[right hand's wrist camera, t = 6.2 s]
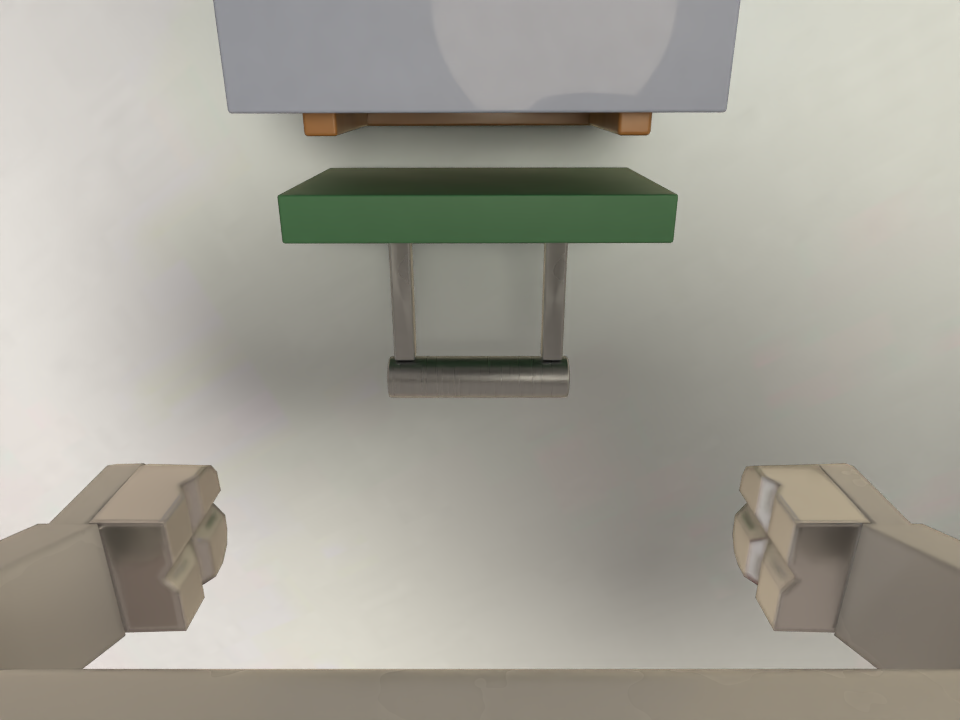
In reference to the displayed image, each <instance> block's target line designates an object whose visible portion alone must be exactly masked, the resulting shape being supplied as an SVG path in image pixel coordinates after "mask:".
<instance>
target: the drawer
mask: <svg viewBox="0 0 960 720" xmlns="http://www.w3.org/2000/svg"><path fill="white" fill-rule="evenodd" d="M651 120H652V112H607V113H303V123H304V133H305V135H306V136H336V135H340V134H343V133H346V132H349V131H352V130H355V129H358V128H361V127H364V126H549V125H592V126H595V127H598V128H600V129H603V130H606V131H609V132H612V133H615V134H618V135H648V134H649V133H650V131H651ZM677 201H678V195H677V194H675V193H673V192H671V191H669V190H668V189H666V188H664V187H662V186H660V185H658V184H657V183H655V182H653V181H651V180H649V179H647V178H645V177H644V176H642V175H640V174H638V173H636V172H634V171H633V170H631V169H629V168H330V169H328V170H326V171H324V172H322V173H320V174H318V175H316V176H314V177H313V178H311V179H309V180H307V181H305V182H303V183H301V184H299V185H297V186H295V187H293V188H292V189H290V190H288V191H286V192H284V193H282V194H280V195H278V205H279V214H280V223H281V232H282V241H283V243H389V262H390V281H391V299H392V318H393V336H394V355H395V356H391V357H390V358H389V362H388V372H387V383H388V393H389V396H390V397H391V398H565V397H567V396H568V393H569V382H570V372H569V361H568V358H567V357H566V356H562V354H563V332H564V311H565V290H566V269H567V248H568V243H671V242H673V238H674V229H675V219H676V210H677ZM412 243H544V265H543V294H542V323H541V356H416V353H417V351H416V326H415V301H414V276H413V252H412Z"/></svg>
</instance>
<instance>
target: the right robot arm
mask: <svg viewBox="0 0 960 720" xmlns="http://www.w3.org/2000/svg"><path fill="white" fill-rule="evenodd" d="M220 491H221V489H220V484H219V479H218V474H217V471H216V470H215V469H214V468H213V467H212V466H211V465H173V464H147V465H146V464H143V463H141V464H113V465H107V466H106V467H105V468H104V469H103V470H102V471H101V472H100V473H99V474H98V475H97V476H96V477H95V478H94V479H93V480H92V481H91V482H90V483H89V484H88V485H87V486H86V487H85V488H84V489H83V490H82V491H81V492H80V493H79V494H78V495H77V496H76V497H75V498H74V499H73V500H72V501H71V502H70V503H69V504H68V505H67V506H66V507H65V508H64V509H63V510H62V511H61V512H60V513H59V514H58V515H57V516H56V517H55V518H54V519H53V520H52V521H51V522H50V523H49V524H36V525H34V526H32V527H30V528H27V529H25V530H23V531H20V532H18V533H16V534H14V535H11V536H9V537H7V538H4V539H2V540H0V720H960V540H958V539H955V538H953V537H951V536H949V535H946V534H944V533H942V532H940V531H937V530H935V529H933V528H930V527H928V526H926V525H924V524H911V523H910V522H909V521H908V520H907V519H906V518H905V517H904V516H903V515H902V514H901V513H900V512H899V511H898V510H897V509H896V508H895V507H894V506H893V505H892V504H891V503H890V502H889V501H888V500H887V499H886V498H885V497H884V496H883V495H882V494H881V493H880V492H879V491H878V490H877V489H876V488H875V487H874V486H873V485H872V484H871V483H870V482H869V481H868V480H867V479H866V478H865V477H864V476H863V475H862V474H861V473H860V472H859V471H858V470H857V469H856V468H855V467H854V466H851V465H848V464H846V463H838V464H808V465H768V466H747V467H746V468H745V470H744V472H743V474H742V478H741V483H740V488H739V491H740V492H741V494H742V496H743V497H744V499H745V500H746V502H747V503H746V504H745V505H744V506H743V507H742V508H741V509H740V510H739V511H738V512H737V513H736V514H735V518H734V526H733V546H734V553H735V557H736V560H737V563H738V566H739V568H740V570H741V571H742V573H743V575H744V577H746V578H747V579H749V580H751V581H752V582H754V583H755V584H757V585H758V586H757V591H756V597H755V598H756V599H757V601H758V603H759V605H760V607H761V608H762V610H763V612H764V614H765V616H766V617H767V619H768V621H769V623H770V625H771V626H772V628H773V630H774V631H799V632H835V634H834V635H835V636H836V637H837V638H839V639H840V640H841V641H843V642H844V643H845V644H846V645H848V646H849V647H850V648H852V649H853V650H854V651H855V652H857V653H858V654H859V655H861V656H862V657H863V658H864V659H866V660H867V661H868V662H870V663H871V664H872V665H873V666H875V667H876V668H877V669H83V668H84V667H86V666H87V665H88V664H89V663H91V662H92V661H93V660H95V659H96V658H97V657H98V656H100V655H101V654H102V653H104V652H105V651H106V650H107V649H109V648H110V647H111V646H113V645H114V644H115V643H116V642H118V641H119V640H120V639H122V638H123V637H124V636H125V632H159V631H186V630H187V628H188V627H189V625H190V623H191V621H192V619H193V617H194V616H195V614H196V612H197V610H198V608H199V607H200V605H201V603H202V601H203V599H204V598H205V597H204V591H203V586H202V585H203V584H205V583H206V582H208V581H209V580H211V579H213V578H214V577H216V575H217V573H218V571H219V569H220V567H221V565H222V564H223V560H224V556H225V551H226V547H227V524H226V518H225V514H224V513H223V512H222V511H221V510H220V509H219V508H218V507H217V506H216V505H215V504H214V503H213V502H214V500H215V499H216V497H217V496H218V494H219V492H220Z"/></svg>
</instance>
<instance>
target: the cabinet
mask: <svg viewBox="0 0 960 720" xmlns="http://www.w3.org/2000/svg"><path fill="white" fill-rule="evenodd" d="M213 2H214V9H215V17H216V24H217V32H218V39H219V47H220V54H221V61H222V69H223V76H224V84H225V91H226V99H227V106H228V111H229V113H607V112H725V111H726V109H727V101H728V94H729V86H730V78H731V70H732V62H733V54H734V47H735V39H736V31H737V23H738V15H739V7H740V0H213Z"/></svg>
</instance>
